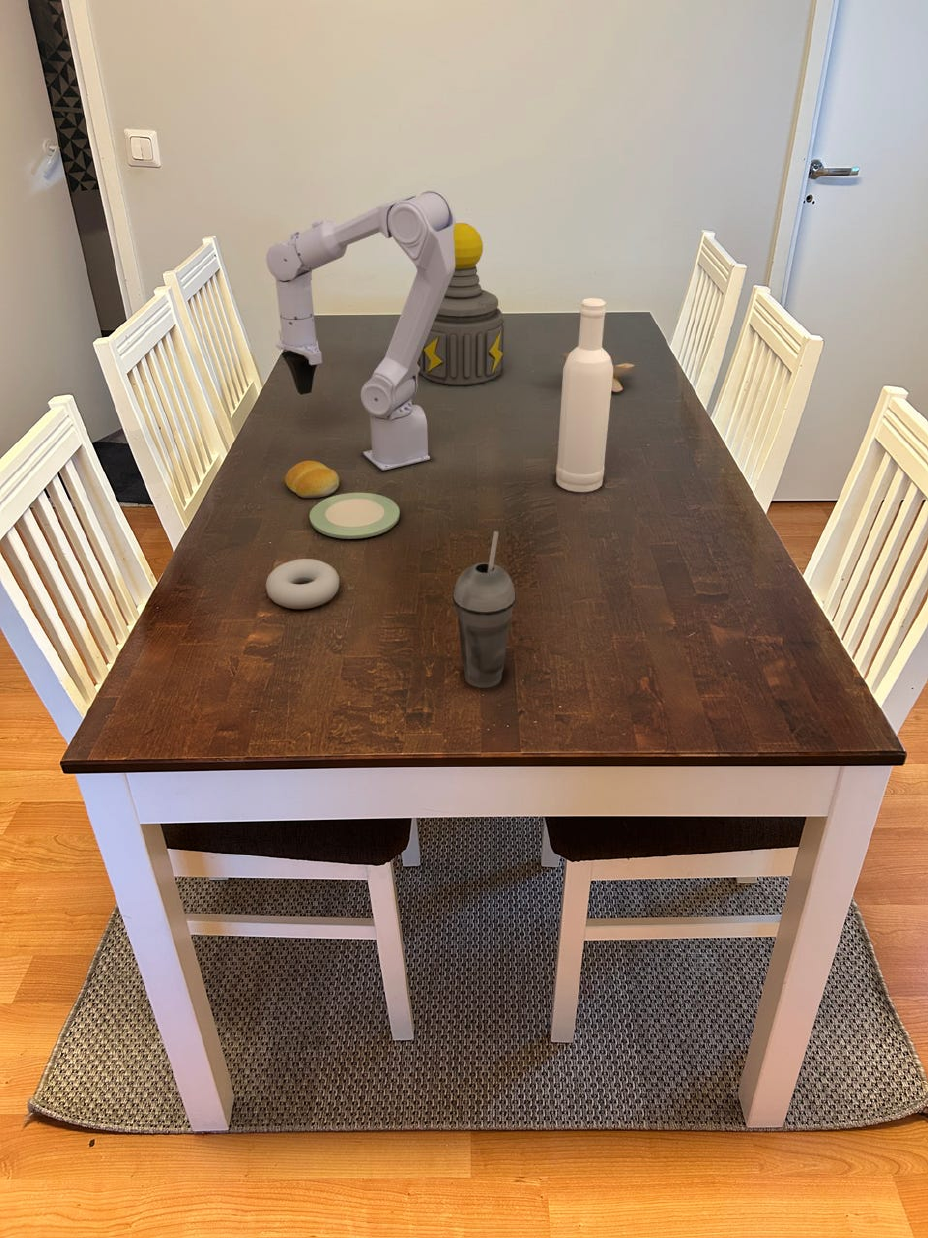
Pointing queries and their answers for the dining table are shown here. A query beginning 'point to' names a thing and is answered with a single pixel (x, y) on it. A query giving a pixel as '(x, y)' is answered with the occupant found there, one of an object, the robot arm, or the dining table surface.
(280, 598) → the donut
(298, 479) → the bread roll
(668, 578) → the dining table surface
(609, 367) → the bottle
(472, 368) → the decorative lamp
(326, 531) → the plate
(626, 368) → the decorative flower
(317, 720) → the dining table surface
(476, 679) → the beverage cup
